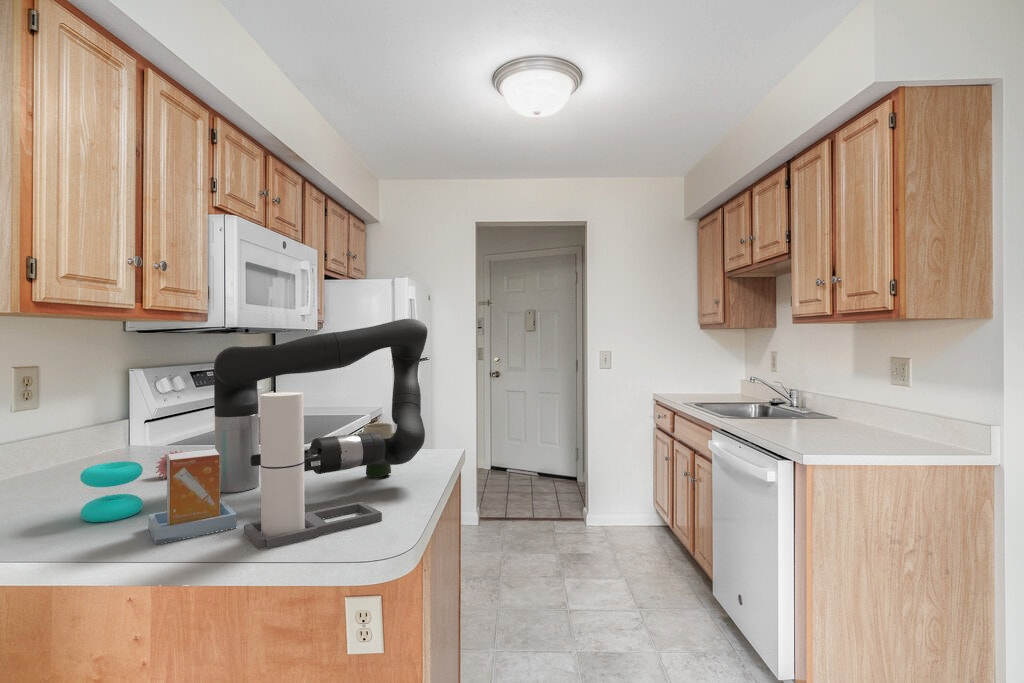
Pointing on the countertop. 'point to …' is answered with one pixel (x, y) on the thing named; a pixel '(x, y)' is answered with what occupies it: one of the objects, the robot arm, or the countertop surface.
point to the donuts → (112, 504)
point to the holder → (315, 525)
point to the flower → (164, 465)
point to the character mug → (385, 432)
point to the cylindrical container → (282, 463)
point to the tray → (190, 525)
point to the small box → (193, 486)
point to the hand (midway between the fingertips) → (256, 464)
